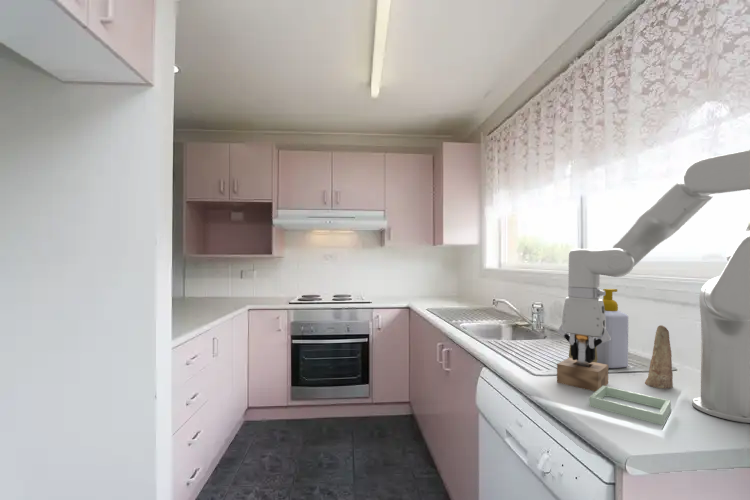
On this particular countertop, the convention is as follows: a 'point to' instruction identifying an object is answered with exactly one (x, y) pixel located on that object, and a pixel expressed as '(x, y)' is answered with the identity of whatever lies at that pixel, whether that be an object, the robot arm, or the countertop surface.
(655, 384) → the tapered stone wedge
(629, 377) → the countertop surface
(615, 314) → the soap bottle
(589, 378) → the socket block
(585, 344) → the pin
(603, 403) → the tray
